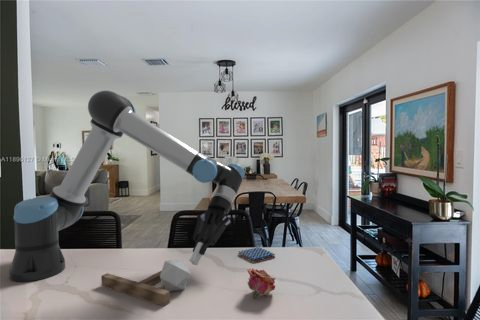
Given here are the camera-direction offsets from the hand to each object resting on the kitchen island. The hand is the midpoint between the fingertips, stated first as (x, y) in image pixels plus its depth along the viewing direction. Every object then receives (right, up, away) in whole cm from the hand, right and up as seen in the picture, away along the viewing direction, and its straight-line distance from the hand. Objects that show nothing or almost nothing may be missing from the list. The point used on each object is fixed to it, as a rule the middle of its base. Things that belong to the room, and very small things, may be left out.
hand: (193, 263), depth 95 cm
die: (-4, -5, -8) cm, 10 cm away
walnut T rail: (-11, -4, -5) cm, 13 cm away
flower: (+20, -5, -12) cm, 24 cm away
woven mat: (+20, -4, +18) cm, 27 cm away
